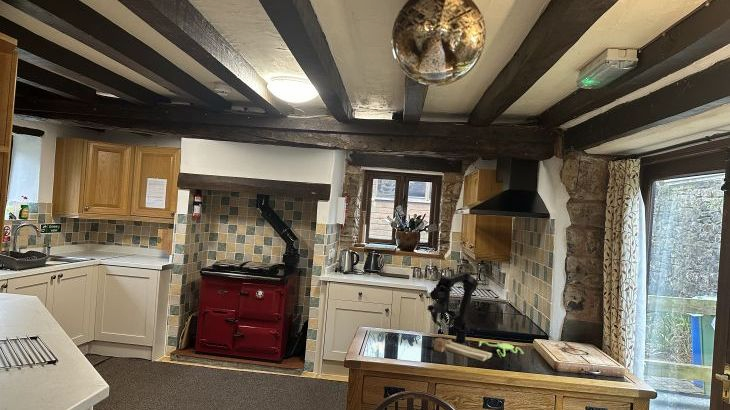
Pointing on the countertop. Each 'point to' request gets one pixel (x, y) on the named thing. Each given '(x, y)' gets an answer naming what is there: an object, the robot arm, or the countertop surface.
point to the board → (468, 351)
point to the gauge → (441, 344)
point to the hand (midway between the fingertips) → (442, 325)
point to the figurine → (502, 347)
